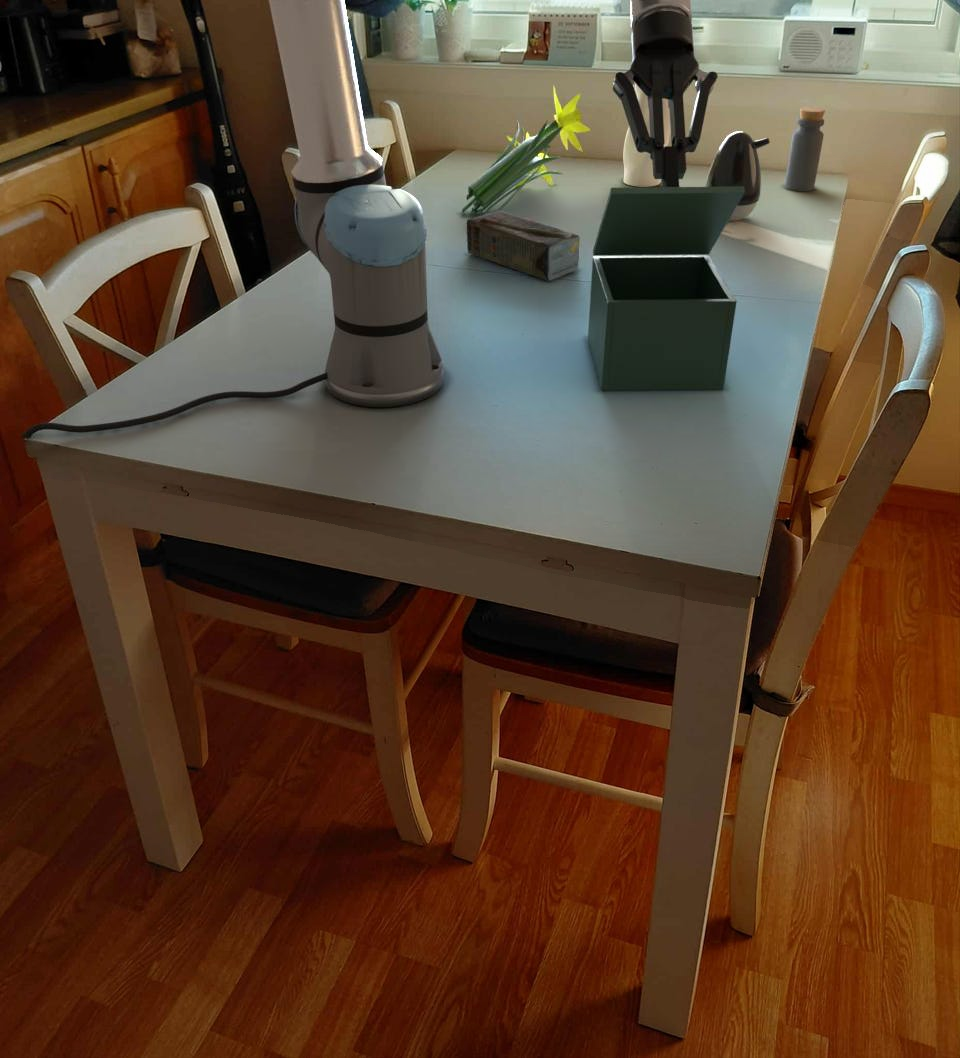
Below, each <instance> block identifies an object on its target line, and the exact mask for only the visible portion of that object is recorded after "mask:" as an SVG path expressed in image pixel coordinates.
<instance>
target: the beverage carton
mask: <svg viewBox="0 0 960 1058" xmlns="http://www.w3.org/2000/svg"><path fill="white" fill-rule="evenodd" d="M580 240H581V238H580V235H578V234H576V233H572V232H570V231H566V230H563V229H561V228H558V227H555V226H551V225H549V224H545V223H542V222H539V221H536V220H532V219H530V218H526V217H523V216H519V215H516V214H514V213H511V212H507V211H505V210H498V209H495V210H493V211H490V212H488V213H487V212H486V213H485V214H482V215H480V214H479V215H478V216H475V217H471V218H468V219H467V220H466V242H467V244H466V245H467V254H469V255H473V256H476V257H479V258H482V259H484V260H487V261H490V262H493V263H496V264H498V265H501V266H504V267H507V268H510V269H513V270H516V271H518V272H522V273H524V274H527V275H530V276H533V277H535V278H539V279H541V280H544V281H547V282H550V281H554V280H555V279H558V278H560V277H563V276H565V275H568V274H569V273H572V272H575V271H577V270H578V269H579V261H580V242H581V241H580Z"/></svg>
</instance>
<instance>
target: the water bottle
mask: <svg viewBox="0 0 960 1058" xmlns="http://www.w3.org/2000/svg"><path fill="white" fill-rule="evenodd" d="M634 89H635V92H636V95H637V99H638V102H639V105H640V108H641V111H642V114H643V117H644V121H645V124H646V127H647V130H648V133H649V137H650V121H649V108H648V98H647V96H646V95H645V94H644V93H643V91H642V90H641V89H640V88H639V87H638V86H637V84H636V83H635V82H634ZM662 102H663V121H664V140H665V143H664V147H665V146H668V145H669V141H670V139H671V128H670V111H669V108H668V99H664V98H663V99H662ZM623 144H624V145H623V152H622V160H623V167H624V168H623V169H624V176H623V183H624V184H625V185H628V186H630V187H657V186H659V185H660V184H661V183H662V179H655V178H654V176H653V163H652V160H651V158H650V155H651V154H649V153H647V152H643V153H640V152H638V151H637V149H636V146H635V143H634V140H633V136H632V133H631V130H630V127H629V126H628V128H627V131H626V134H625V139H624V143H623Z"/></svg>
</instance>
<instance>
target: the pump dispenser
mask: <svg viewBox="0 0 960 1058" xmlns="http://www.w3.org/2000/svg"><path fill="white" fill-rule="evenodd" d="M767 145H770V138H769V137H765V138H761V139H758V140H754V139H753V138H752V136H751V135H750V134H748V133H747V132H745V131H734V132H732V133H730V134H729V135H727V136H726V138H725V139H724V141H723V142H722V143H721V145H720V146H719V149H718V150H717V152H716V154H715V156H714V158H713V161H712V162H711V165H710V168H709V170H708V174H707V178H706V181H705V185H704V187H743V186H744V191H745V193H744V194H743V196H742V198H741V200H740V201H739V203H738V205H737V207H736V208H735V210H734V212H733V214H732V215H731V217H730V219H729V221H728V222H735V221H741V220H744V219H746V218H747V217H749V215H751V214H752V213H753V211H754V209H755V208H756V206H757V203H758V202H759V201H760V198H761V191H762V190H761V189H762V175H761V174H762V173H761V165H760V164H761V163H760V158H759V154H758V149H761V148H763V147H765V146H767Z"/></svg>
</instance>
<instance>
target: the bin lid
mask: <svg viewBox="0 0 960 1058" xmlns="http://www.w3.org/2000/svg"><path fill="white" fill-rule="evenodd" d="M608 193H609V194H608V197H607V200H606V204H605V208H604V211H603V215H602V218H601V222H600V224H599V227H598V232H597V234H596V239H595V242H594V246H593V249H592V256H687V255H710V254H711V252H712V250H713V249H714V247H715V245H716V243H717V241H718V240H719V238H720V236H721V234H722V233H723V231H724V230H725V228H726V226H727V224H728V222H730V221H729V219H730V217H731V215H732V214H733V212H734V210H735V208H736V207H737V205H738V203H739V201H740V200H741V198H742V196H743V194H744V193H745V191H744V186H743V187H705V186H679V187H662V186H650V187H636V186H630V187H629V186H627V187H626V186H625V187H610V190H609V192H608Z"/></svg>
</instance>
